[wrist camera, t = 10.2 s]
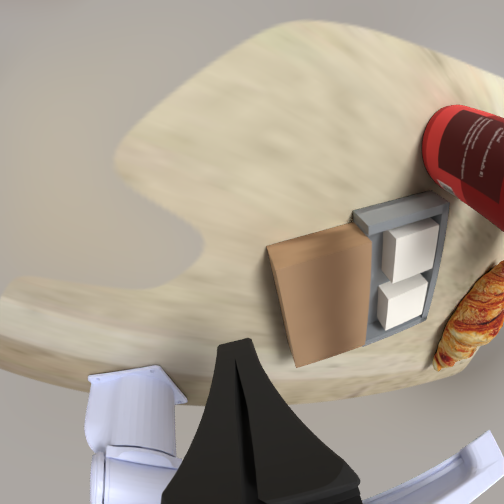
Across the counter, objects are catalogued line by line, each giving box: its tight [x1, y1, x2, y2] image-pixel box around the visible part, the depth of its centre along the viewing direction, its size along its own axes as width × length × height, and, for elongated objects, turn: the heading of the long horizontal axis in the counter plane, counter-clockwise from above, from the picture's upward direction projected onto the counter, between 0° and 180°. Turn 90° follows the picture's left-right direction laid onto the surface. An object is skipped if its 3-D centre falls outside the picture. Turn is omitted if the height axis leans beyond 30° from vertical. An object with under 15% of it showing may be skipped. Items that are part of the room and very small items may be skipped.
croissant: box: [433, 260, 504, 371], centre depth 31 cm, size 21×10×8 cm, turn 173°
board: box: [267, 222, 372, 368], centre depth 24 cm, size 7×12×3 cm, turn 13°
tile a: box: [377, 273, 428, 331], centre depth 26 cm, size 4×4×2 cm
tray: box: [353, 190, 450, 347], centre depth 24 cm, size 8×14×2 cm, turn 13°
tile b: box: [381, 217, 439, 284], centre depth 22 cm, size 4×4×2 cm
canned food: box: [422, 105, 504, 232], centre depth 15 cm, size 8×8×11 cm
